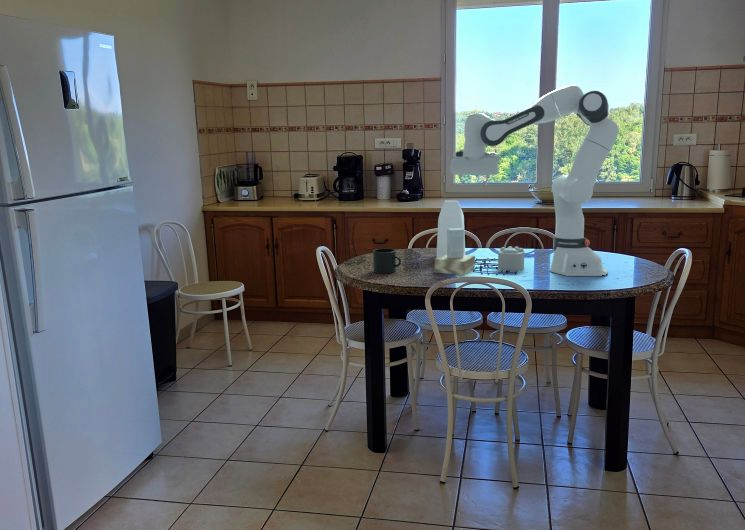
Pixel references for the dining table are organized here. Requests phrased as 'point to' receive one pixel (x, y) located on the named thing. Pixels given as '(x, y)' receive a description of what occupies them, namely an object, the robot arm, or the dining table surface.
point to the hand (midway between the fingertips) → (474, 185)
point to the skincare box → (455, 243)
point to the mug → (385, 261)
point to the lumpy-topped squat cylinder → (511, 258)
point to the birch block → (454, 264)
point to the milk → (448, 224)
